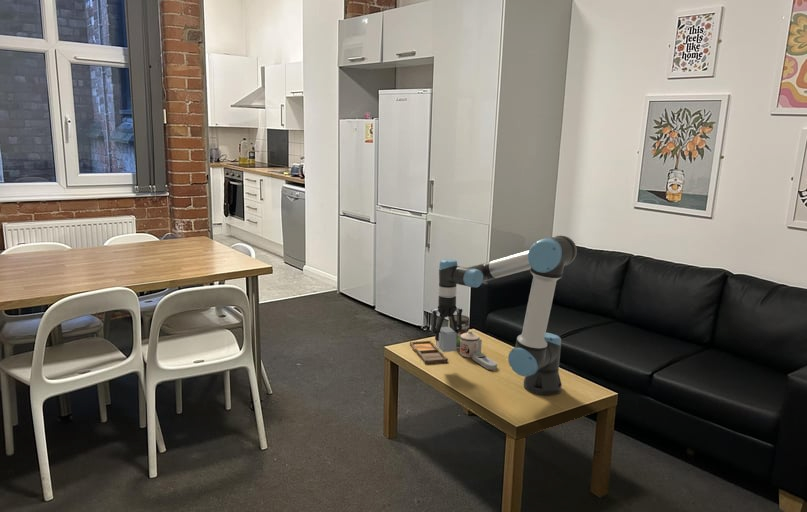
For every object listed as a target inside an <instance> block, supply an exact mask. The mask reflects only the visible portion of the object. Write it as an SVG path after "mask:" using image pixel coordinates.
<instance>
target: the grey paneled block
mask: <svg viewBox="0 0 807 512" xmlns="http://www.w3.org/2000/svg"><path fill="white" fill-rule="evenodd" d="M440 334H441V349H439V350H440V351H441V352H442V353H445V352H446V353H447V352H450V353H451V352H457V348H456V343H457V333H456V332H455V331H454V330H453V329H451V328H450V327H448V326H441V329H440ZM435 346H436V347H437V341H436V340H435Z"/></svg>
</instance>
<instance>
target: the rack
mask: <svg viewBox="0 0 807 512" xmlns="http://www.w3.org/2000/svg"><path fill="white" fill-rule="evenodd" d="M409 346H410V348H411V349H412V350H413V351H414V353H416V354H417V356H418V358H420V359H421V361H422V362H423V363H424V365H431V364H443V363H448V362H449V359H448V357H447V356H446V355H445V354H444V352H442V351H441V350H440V349H439V348H438V347H437V346H436V344H434V342H433V341H432V340H425V341H424V340H423V341H422V340H421V341H410V342H409Z"/></svg>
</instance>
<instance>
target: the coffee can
mask: <svg viewBox="0 0 807 512" xmlns="http://www.w3.org/2000/svg"><path fill="white" fill-rule="evenodd" d="M461 317H462V330H461V331H459V332H458V333H457V343H456V350H457V349H459V350H460V339H461V338H460V336H461V334H464V333H467V332H468V331H470V328H469V327H470V317H469V316H467V315H465V314H464V315H463V314H461ZM454 319H455V322H456V326H457V314H454ZM447 325H448V326H447V327H450V328H451V329H453V327H452V323H451V320H450V317H448V324H447Z"/></svg>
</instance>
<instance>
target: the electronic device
mask: <svg viewBox="0 0 807 512" xmlns="http://www.w3.org/2000/svg"><path fill="white" fill-rule="evenodd" d="M482 341H483V340H482V339H479V340H478V345H477V352H476V353H473V357H472V360H473V361H474V362H476V363H477V364H479V365H480V366H482V367H483V368H485V369H486V370H489V371H495V370H497V368H498V363H497V362H496V361H495V360H493V359H491V358H490V357H489V356H486V355H485V354H484V353H482V344H483V342H482Z"/></svg>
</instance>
